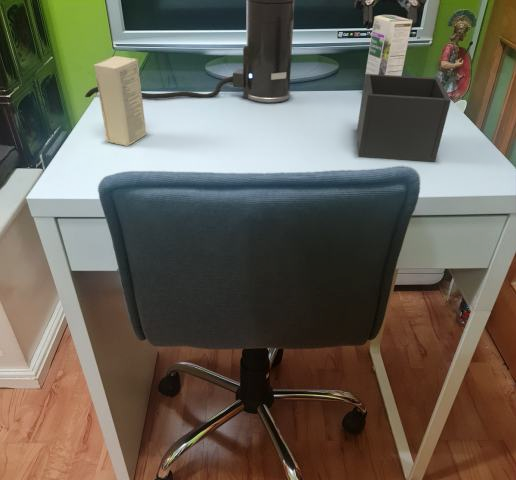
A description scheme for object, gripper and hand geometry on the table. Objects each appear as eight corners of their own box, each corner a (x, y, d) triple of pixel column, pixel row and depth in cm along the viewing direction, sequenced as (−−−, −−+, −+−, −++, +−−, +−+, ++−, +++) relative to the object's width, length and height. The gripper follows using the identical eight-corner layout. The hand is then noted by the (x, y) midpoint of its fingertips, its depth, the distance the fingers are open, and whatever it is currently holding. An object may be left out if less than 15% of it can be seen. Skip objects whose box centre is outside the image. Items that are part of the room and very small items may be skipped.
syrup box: (361, 92, 112) (372, 15, 103) (382, 89, 115) (395, 13, 105) (377, 99, 109) (390, 20, 99) (398, 96, 111) (413, 18, 101)
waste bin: (358, 156, 85) (367, 95, 78) (356, 130, 94) (365, 73, 88) (435, 162, 84) (451, 100, 77) (425, 135, 93) (439, 77, 87)
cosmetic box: (126, 131, 91) (115, 55, 83) (148, 135, 90) (138, 58, 82) (105, 142, 87) (91, 63, 79) (128, 147, 86) (116, 67, 78)
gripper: (359, -65, 101) (359, 13, 100) (430, -63, 101) (431, 15, 100) (352, -35, 109) (351, 38, 108) (418, -33, 109) (418, 40, 108)
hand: (390, 27), depth 104 cm, fingers open, 8 cm apart
